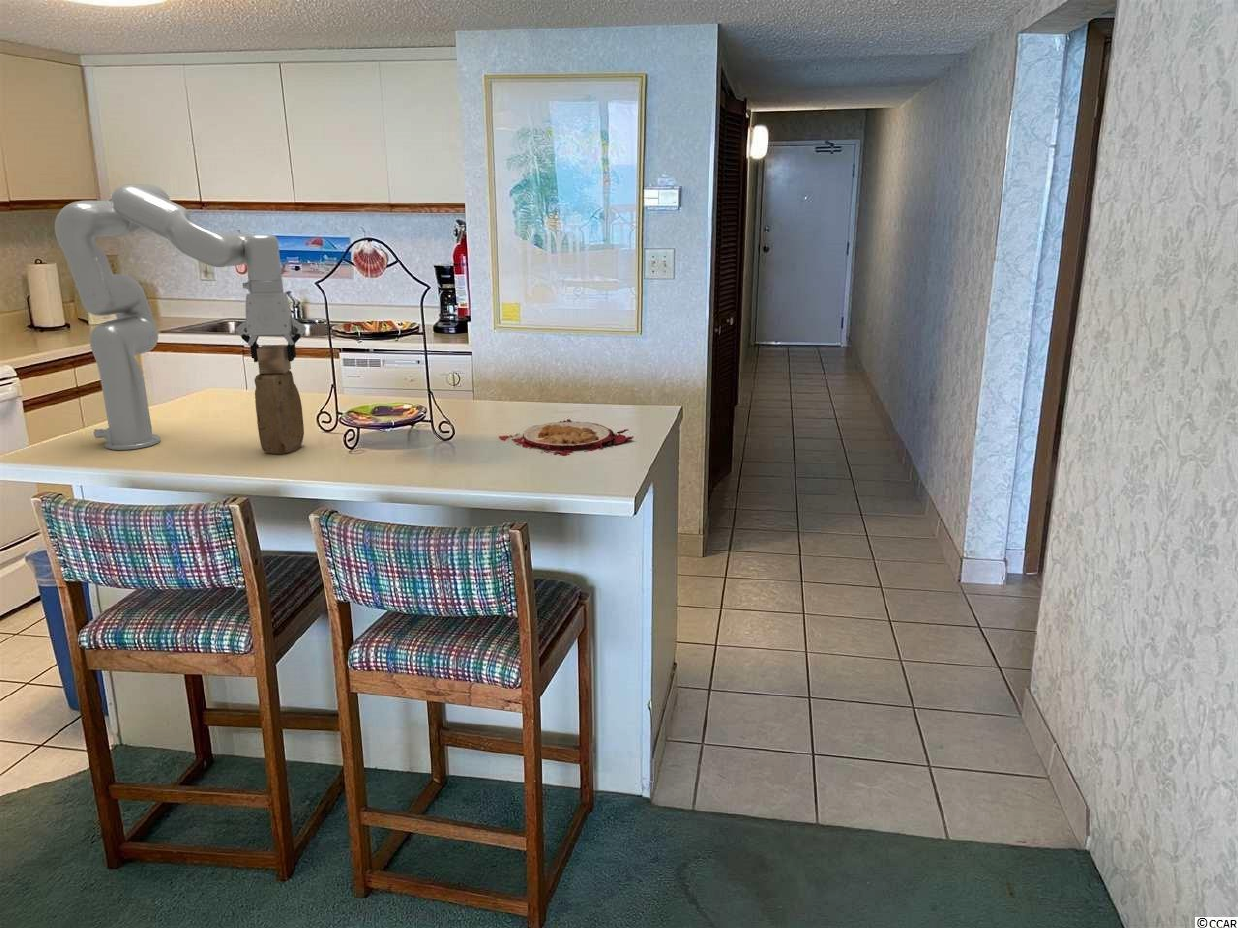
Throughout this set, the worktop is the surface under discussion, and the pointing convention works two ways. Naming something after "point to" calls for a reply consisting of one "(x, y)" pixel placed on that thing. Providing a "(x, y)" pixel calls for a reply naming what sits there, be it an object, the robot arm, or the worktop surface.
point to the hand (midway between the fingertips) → (274, 360)
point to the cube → (273, 359)
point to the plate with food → (568, 437)
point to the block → (278, 413)
